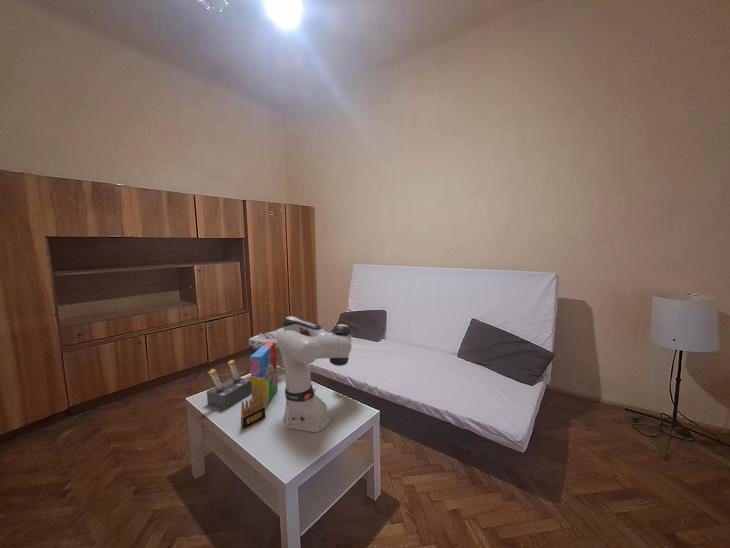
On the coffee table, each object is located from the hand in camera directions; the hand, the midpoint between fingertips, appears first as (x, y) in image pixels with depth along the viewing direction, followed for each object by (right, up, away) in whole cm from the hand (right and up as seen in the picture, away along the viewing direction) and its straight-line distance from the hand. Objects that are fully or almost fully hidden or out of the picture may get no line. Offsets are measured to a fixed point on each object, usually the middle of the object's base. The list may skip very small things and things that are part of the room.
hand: (254, 347), depth 161 cm
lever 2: (-5, -15, -11) cm, 19 cm away
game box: (+12, -23, -16) cm, 31 cm away
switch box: (-7, -23, -14) cm, 28 cm away
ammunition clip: (+13, -25, -34) cm, 44 cm away
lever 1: (-9, -16, -20) cm, 27 cm away
